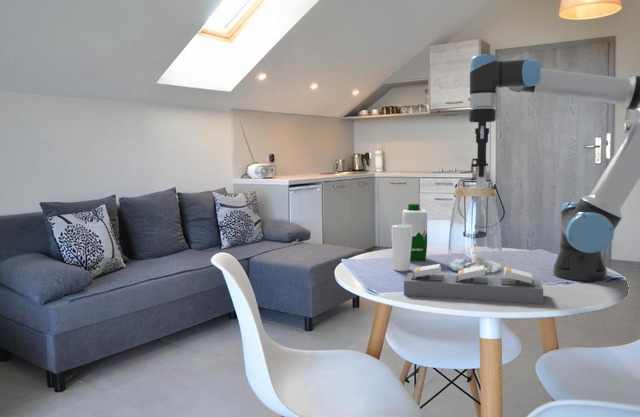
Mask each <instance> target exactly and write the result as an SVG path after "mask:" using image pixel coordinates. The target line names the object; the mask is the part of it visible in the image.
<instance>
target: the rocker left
mask: <svg viewBox="0 0 640 417" xmlns="http://www.w3.org/2000/svg"><path fill="white" fill-rule="evenodd" d="M441 271H442V266H441V263H437V264H432V265H425V266H417V267H415V269H414V270H413V273H414V274H415V277H419V276H425V275H432V274H440V273H441Z"/></svg>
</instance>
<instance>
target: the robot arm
mask: <svg viewBox="0 0 640 417" xmlns="http://www.w3.org/2000/svg"><path fill="white" fill-rule="evenodd" d="M497 56H498V55H496V54H493V53H488V54H487V53H483V54H477V55H474V56H472V57H471V59H470V65H469V66H470V67H469V97H467V101H468V102H469V107H470V110H469V112H468V113H469V117H468V119H469V120H468V121H469V122H470V123H478V124H477V126H478V127H476V128H474V129H475V130H474V132H475V133H474V134H475V135H476V136H475V143H476V144H477V154H476V155H477V157H476V158H477V160H476V163H474V167H476V188H477V189H486V188H487V167H488V166H489V163H487V144H488V142H489V134H490V127H487V123H494V122H495V121H496V116H497V115H496V112H497V110H496V109H495V107H497V88H508V89H509V90H510V91H512V92H516V93H520V92H525V93H534V94H540V95H548V96H556V97H564V98H571V99H578V100H585V101H592V102H600V103H608V104H616V105H621V106H623V108H624V109H625V110H632V111H634V113H635V116H636V119H634V122H633V123H632V125H631V127H630V129H629V130H628V132H627V133H626V134H625V137H624V139H623V140H622V141H621V143H620V145H619V146H618V148H617V150H616V152H615V153H614V155H613V156H612V157H611V160H610V161H609V163H608V164H607V166H606V168H605V169H604V171H603V173H602V175H601V176H600V178H599V179H598V181H597V182H596V185H594V188H593V189H592V191H591V192H590V194H588V195H586V196H582V197H581V199H580V200H579V201H578V202H577V201H576V202H575V201H574V202H564V203H563V204H562V205H561V210H560V215H561V216H560V220H561V222H560V241H559V242H560V245H559V246H560V247H559V252H558V254H557V257H556V259H555V262H554V265H553V275H554V276H557V277H559V278H562V279H567V280H573V281H582V282H583V281H584V282H596V281H604V280H606V279H607V278H608V275H607V274H608V269H607V265H606V263H605V259H604V256H603V254H602V253H603V252H602V251H603V250H605V249H607V248H608V247H609V246H610V245H611V243H612V241H613V239H614V237H615V236H614V234H615V230H616V228H617V226H618V225H619V223H620V221H621V220H622V219H623V215H622V212H621V211H622V210H621V209H622V207H623V205H624V204H625V202H626V201H627V200H628V197H629V196H630V194H631V192H632V191H633V190H634V188H635V186H636V185H637V183H638V181H639V180H640V75H639V76H638V75H633V76H631V77H630V78H626V77H616V76H610V75H609V76H608V75H600V74H593V73H592V74H591V73H585V72H584V73H583V72H576V71H567V70H566V71H565V70H559V69H548V68H541V66H542V65H541V61H540V60H539V59H538V58H537V59H535V58H534V59H533V58H532V59H531V58H526V59H516V60H504V61H503V60H498V58H497Z"/></svg>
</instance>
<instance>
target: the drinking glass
mask: <svg viewBox="0 0 640 417" xmlns="http://www.w3.org/2000/svg"><path fill="white" fill-rule="evenodd" d="M411 245H412V226H411V225H405V224H392V226H391V247H392V257H393V269H394V270H395V271H396V272H408V271H410V270H411V261H410V257H411Z"/></svg>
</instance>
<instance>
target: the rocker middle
mask: <svg viewBox="0 0 640 417" xmlns="http://www.w3.org/2000/svg"><path fill="white" fill-rule="evenodd" d="M457 275H458V277H459V280H463V279H468V278H472V277H477V276H479V277H483V276H485V275H486V268H485V265H482V264H481V265H479V266H474V267H469V268H463V269H459V270H458V272H457Z"/></svg>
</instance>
